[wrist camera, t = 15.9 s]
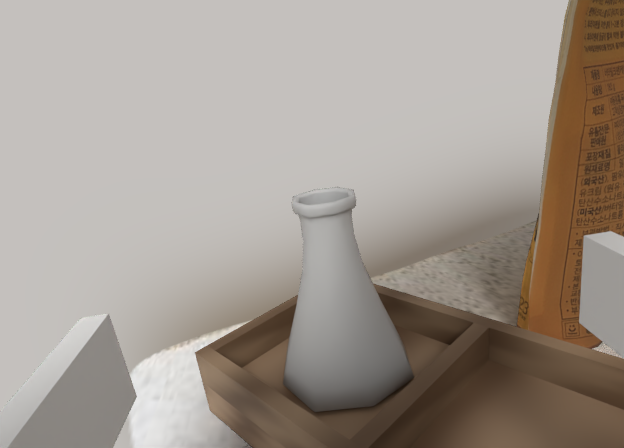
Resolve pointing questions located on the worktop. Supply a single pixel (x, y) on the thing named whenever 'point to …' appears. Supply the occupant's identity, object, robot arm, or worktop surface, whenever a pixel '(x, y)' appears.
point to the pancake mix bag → (578, 169)
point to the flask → (339, 315)
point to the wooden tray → (425, 387)
